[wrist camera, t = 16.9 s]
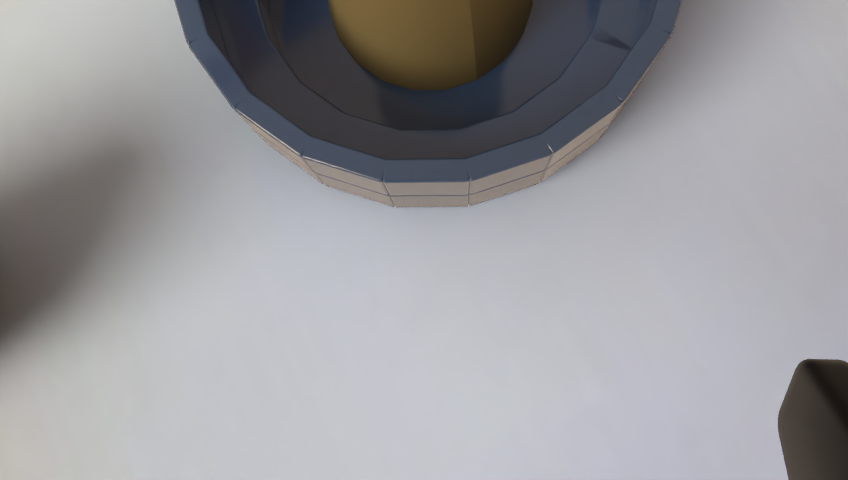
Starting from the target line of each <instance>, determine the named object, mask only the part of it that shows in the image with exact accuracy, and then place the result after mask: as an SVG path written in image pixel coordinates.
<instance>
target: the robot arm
mask: <svg viewBox="0 0 848 480" xmlns="http://www.w3.org/2000/svg"><path fill="white" fill-rule="evenodd" d="M778 432H779V437H780V442H781V446H782V451H783V455H784V460H785V465H786V469H787V474H788V478H789V480H848V363H847V362H845V361H842V360H829V359H807V360H803V361H802V362H800V363H799V364H798V366H797V368H796V369H795V372H794V374H793V377H792V380H791V382H790V385H789V387H788V390H787V392H786V395H785V398H784V400H783V403H782V405H781V408H780V411H779V416H778Z"/></svg>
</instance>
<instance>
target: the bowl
mask: <svg viewBox="0 0 848 480" xmlns="http://www.w3.org/2000/svg"><path fill="white" fill-rule="evenodd" d="M174 1H175V4H176V8H177V11H178V15H179V18H180V21H181V25H182V28H183V32H184V35H185V39H186V42H187V44H188V45H189V48H190V49H191V51H192V52H193V54H194V55H195V56H196V58H197V59H198V61H199V62H200V63H201V65H202V66H203V68H204V69H205V70H206V72H207V73H208V75H209V76H210V77H211V79H212V80H213V82H214V83H215V84H216V86H217V87H218V89H219V90H220V91H221V93H222V94H223V96H224V97H225V98H226V100H227V101H228V103H229V104H230V105H231V107H232V108H233V109H234V110H235V111H236V112H237V113H238V114H239V115H240V116H241V117H242V118H243V119H244V120H245V121H246V122H247V123H248V124H249V125H250V126H251V127H252V128H253V129H254V130H255V131H256V132H257V133H258V135H259V136H260V137H261V138H262V139H263V140H264V141H265V142H266V143H268V144H269V146H271V147H272V148H274V149H275V150H276V151H278V152H279V153H281V154H282V155H283V156H285V157H286V158H287V159H289V160H290V161H292V162H293V163H294V164H296V165H297V166H299V167H300V168H301V169H303V170H304V171H306V172H307V173H308V174H310V175H311V176H313V177H314V178H315V179H317V180H318V181H320V182H321V183H322V184H325V185H326V186H328V187H331V188H334V189H338V190H341V191H344V192H347V193H350V194H354V195H357V196H360V197H363V198H366V199H370V200H373V201H376V202H379V203H382V204H386V205H389V206H392V207H394V206H396V207H466V206H468V205H471V206H472V205H475V204H478V203H481V202H484V201H487V200H490V199H493V198H496V197H499V196H502V195H505V194H508V193H511V192H514V191H517V190H520V189H523V188H526V187H529V186H532V185H535V184H537V183H539V182H541V181H543V180H545V179H546V178H547V177H549V176H550V175H551V174H553V173H554V172H556V171H557V170H558V169H560V168H561V167H562V166H564V165H565V164H566V163H568V162H569V161H571V160H572V159H573V158H575V157H576V156H577V155H579V154H580V153H582V152H583V151H584V150H586V149H587V148H588V147H590V146H591V145H593V144H594V143H595V142H597V140H598V139H599V138H601V136H602V135H603V134H604V132H605V131H606V129H607V128H608V127H609V125H610V124H611V123H612V121H613V120H614V118H615V117H616V116H617V114H618V113H619V111H620V110H621V109H622V107H623V106H624V104H625V103H626V102H627V100H628V99H629V97H630V96H631V95H632V93H633V92H634V90H635V89H636V88H637V86H638V85H639V83H640V82H641V80H642V79H643V77H644V76H645V74H646V73H647V71H648V70H649V68H650V67H651V66H652V64H653V62H654V61H655V60H656V58H657V57H658V55H659V54H660V52H661V51H662V49H663V48H664V46H665V45H666V43H667V42H668V40H669V39H670V36H671V34H672V33H673V30H674V27H675V23H676V20H677V17H678V13H679V10H680V7H681V3H682V0H533V6H532V9H531V12H530V15H529V18H528V21H527V24H526V27H525V30H524V33H523V36H522V37H521V39H520V40H519V41H518V43H517V44H516V45H515V47H514V48H513V49H512V51H511V52H510V53H509V55H508V56H507V57H506V59H505V60H504V61H503V62H502V63H500V64H499V65H497V66H496V67H495V68H493V69H492V70H490V71H489V72H488V73H486V74H485V75H483V76H482V77H480V78H479V79H478V80H475V81H472V82H469V83H466V84H463V85H460V86H457V87H453V88H450V89H447V90H411V89H407V88H404V87H401V86H397V85H394V84H391V83H388V82H384V81H382V80H380V79H379V78H377V77H376V76H375V75H373V74H372V73H370V72H369V71H367V70H366V69H365V68H363V67H362V66H360V65H359V64H357V63H356V62H355V60H354V59H353V57H352V56H351V55H350V53H349V52H348V51H347V49H346V48H345V47H344V45H343V44H342V43H341V41H340V40H339V39H338V36H337V33H336V30H335V27H334V24H333V20H332V17H331V14H330V11H329V5H328V0H174Z"/></svg>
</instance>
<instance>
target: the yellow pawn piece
mask: <svg viewBox="0 0 848 480" xmlns="http://www.w3.org/2000/svg"><path fill="white" fill-rule="evenodd" d="M328 5H329V11H330V14H331V17H332V20H333V24H334V27H335V30H336V33H337V36H338V39H339V40H340V41H341V43H342V44H343V45H344V47H345V48H346V49H347V51H348V52H349V53H350V55H351V56H352V57H353V59H354V60H355V62H356V63H357V64H359V65H360V66H362V67H363V68H365V69H366V70H367V71H369V72H370V73H372V74H373V75H375V76H376V77H377V78H379V79H380V80H382V81H384V82H388V83H391V84H394V85H397V86H401V87H404V88H407V89H411V90H447V89H450V88H453V87H457V86H460V85H463V84H466V83H469V82H472V81H475V80H478V79H479V78H480V77H482V76H483V75H485V74H486V73H488V72H489V71H490V70H492V69H493V68H495V67H496V66H497V65H499V64H500V63H502V62H503V61H504V60H505V59H506V57H507V56H508V55H509V53H510V52H511V51H512V49H513V48H514V47H515V45H516V44H517V43H518V41H519V40H520V39H521V37H522V36H523V33H524V30H525V27H526V24H527V21H528V18H529V15H530V12H531V9H532V6H533V0H328Z"/></svg>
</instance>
